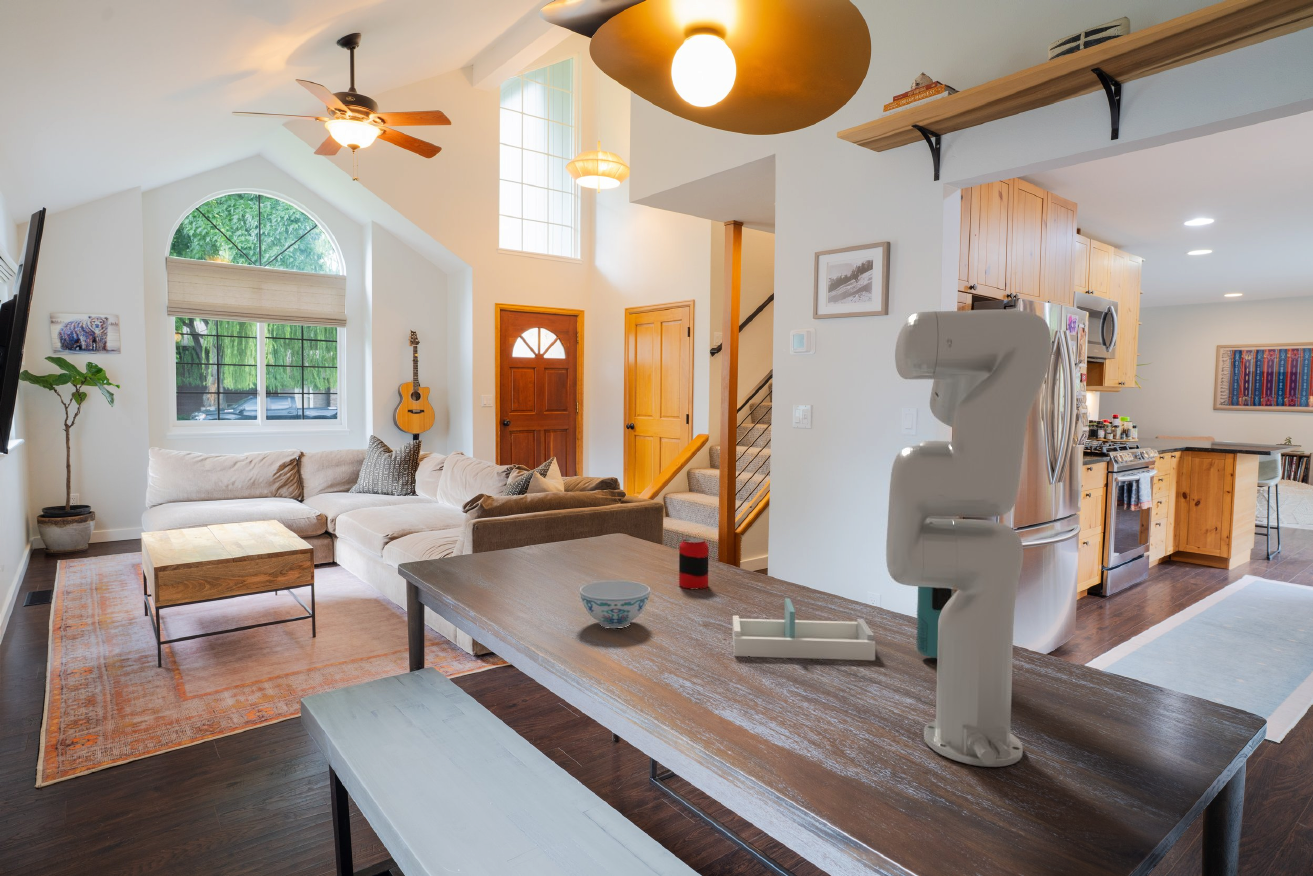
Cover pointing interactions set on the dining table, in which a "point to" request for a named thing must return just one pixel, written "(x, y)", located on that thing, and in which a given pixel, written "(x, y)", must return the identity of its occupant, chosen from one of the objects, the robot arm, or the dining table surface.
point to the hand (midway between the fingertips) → (935, 603)
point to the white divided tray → (803, 639)
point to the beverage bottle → (927, 623)
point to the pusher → (789, 619)
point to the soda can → (693, 563)
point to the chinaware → (614, 601)
